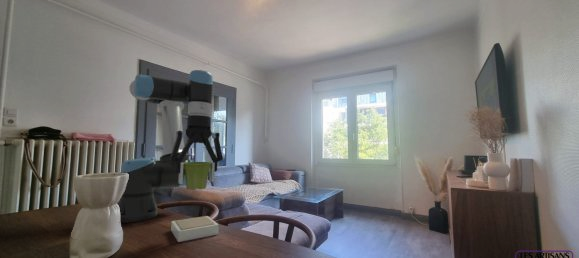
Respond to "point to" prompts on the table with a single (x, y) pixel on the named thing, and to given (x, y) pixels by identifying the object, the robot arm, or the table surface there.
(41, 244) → the table surface
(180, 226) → the pedestal
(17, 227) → the table surface
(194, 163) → the plant pot
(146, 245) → the table surface
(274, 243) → the table surface
